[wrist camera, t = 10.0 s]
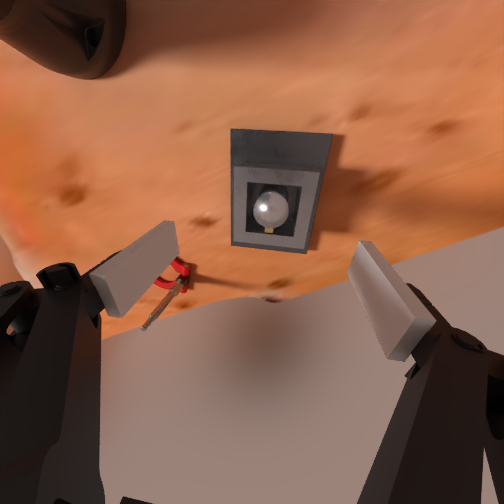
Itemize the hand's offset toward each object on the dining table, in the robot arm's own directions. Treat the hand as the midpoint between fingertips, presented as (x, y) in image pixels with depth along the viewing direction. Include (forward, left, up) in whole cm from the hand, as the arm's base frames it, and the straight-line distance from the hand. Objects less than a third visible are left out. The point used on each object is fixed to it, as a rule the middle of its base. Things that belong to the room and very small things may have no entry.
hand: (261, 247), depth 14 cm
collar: (0, 0, -15) cm, 15 cm away
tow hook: (+16, -19, -17) cm, 30 cm away
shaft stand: (0, 0, -16) cm, 16 cm away
